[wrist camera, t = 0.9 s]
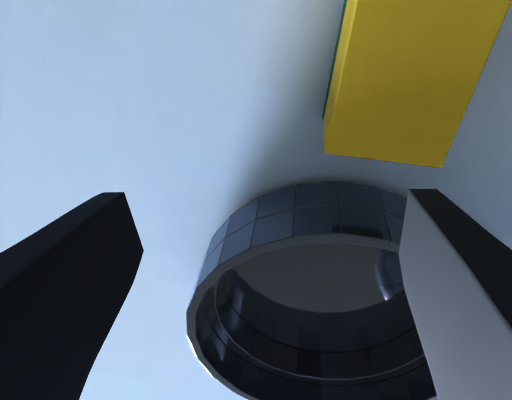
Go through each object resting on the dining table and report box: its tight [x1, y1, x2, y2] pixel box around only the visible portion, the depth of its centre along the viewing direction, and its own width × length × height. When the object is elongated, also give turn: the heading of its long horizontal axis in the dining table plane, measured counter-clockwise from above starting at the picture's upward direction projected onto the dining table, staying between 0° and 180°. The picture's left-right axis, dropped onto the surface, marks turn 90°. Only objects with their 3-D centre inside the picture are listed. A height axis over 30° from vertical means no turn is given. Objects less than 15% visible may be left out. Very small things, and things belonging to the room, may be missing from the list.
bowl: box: [186, 182, 438, 400], centre depth 22 cm, size 15×15×4 cm
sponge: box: [322, 0, 512, 168], centre depth 14 cm, size 7×4×4 cm, turn 176°
